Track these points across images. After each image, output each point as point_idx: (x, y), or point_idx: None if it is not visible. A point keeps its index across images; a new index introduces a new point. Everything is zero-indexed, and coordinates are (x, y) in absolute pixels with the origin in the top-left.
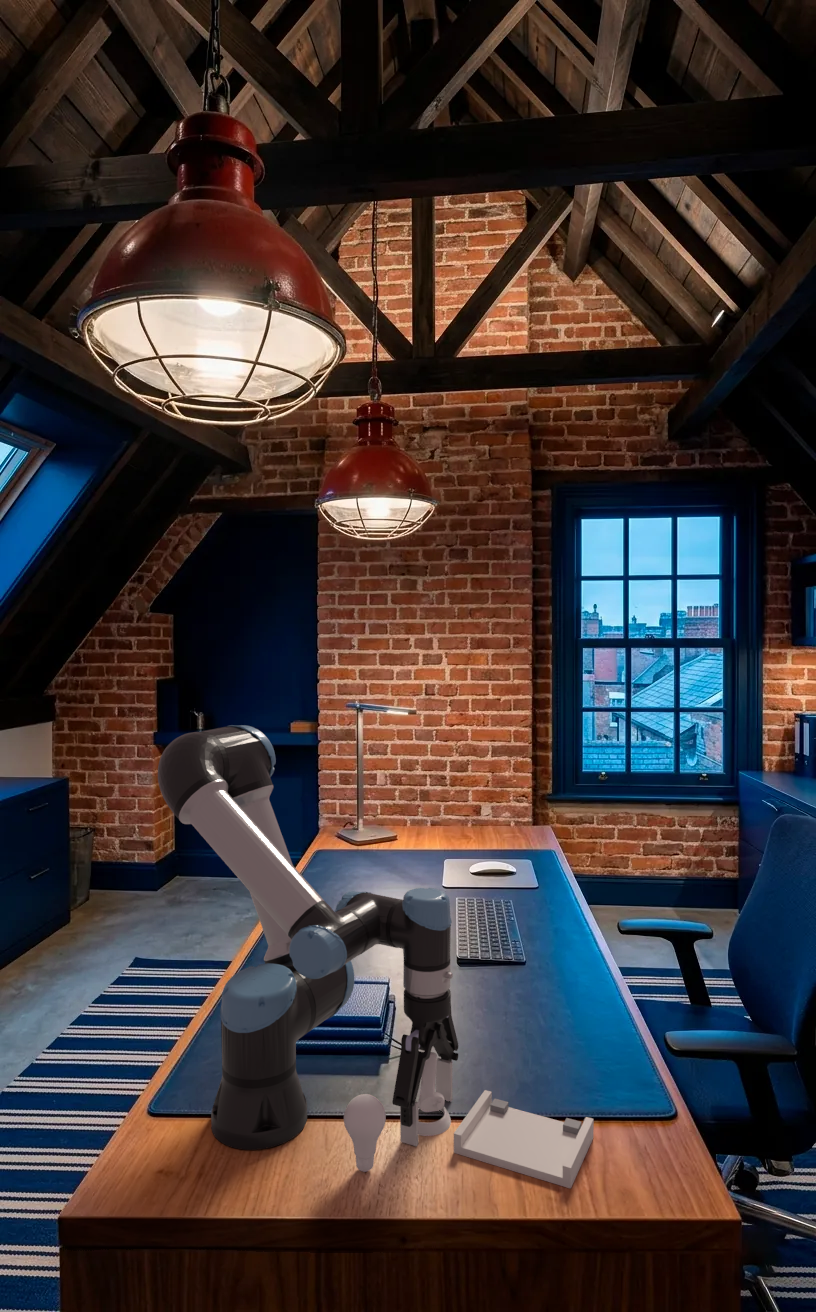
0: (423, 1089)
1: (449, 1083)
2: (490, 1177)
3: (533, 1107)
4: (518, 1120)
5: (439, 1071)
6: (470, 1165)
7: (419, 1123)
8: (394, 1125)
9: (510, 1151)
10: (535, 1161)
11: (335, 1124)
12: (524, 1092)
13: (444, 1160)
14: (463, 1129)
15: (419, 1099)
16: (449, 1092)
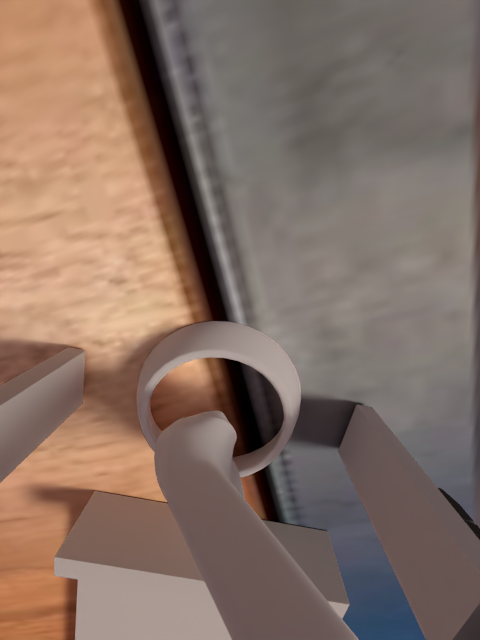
0: (171, 509)
1: (370, 511)
2: (44, 567)
3: (348, 618)
4: None
5: (418, 522)
6: (65, 529)
7: (138, 408)
8: (160, 299)
9: (115, 622)
10: None
11: (70, 16)
12: None
13: (53, 475)
14: (88, 578)
15: (162, 451)
16: (353, 474)
